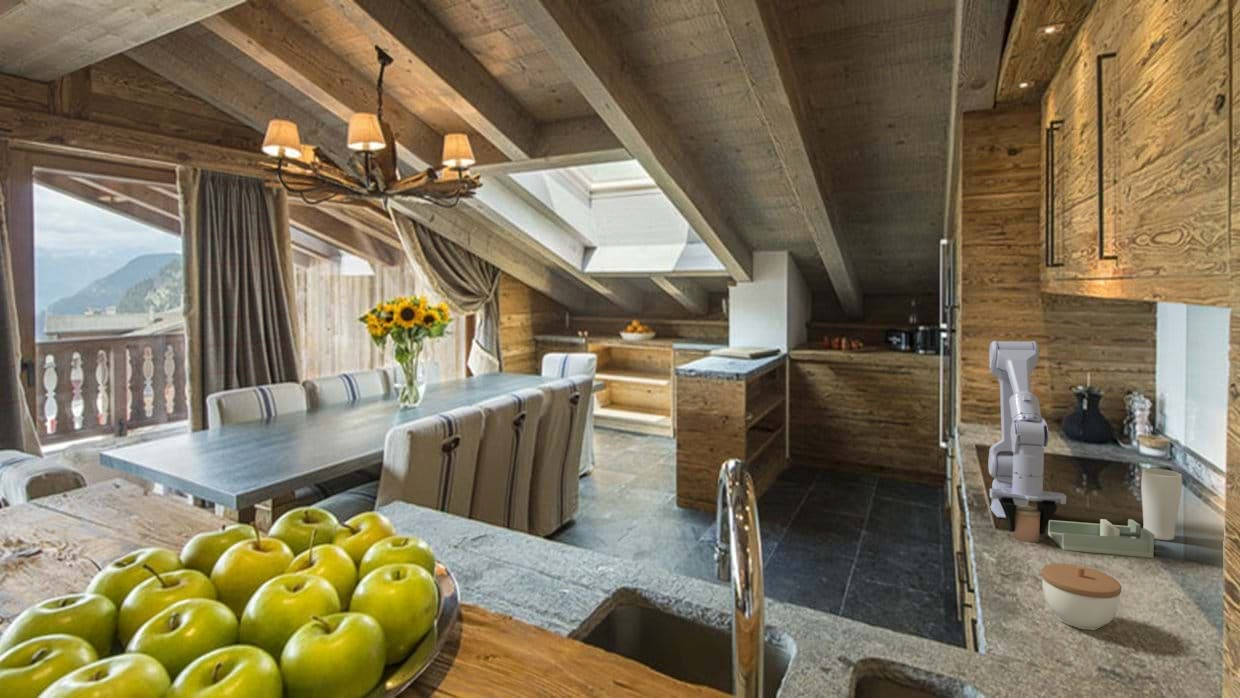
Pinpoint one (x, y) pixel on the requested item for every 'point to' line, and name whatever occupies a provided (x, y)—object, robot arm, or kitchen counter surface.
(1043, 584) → the lidded jar
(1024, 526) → the jar
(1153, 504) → the drinking glass
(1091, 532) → the pale green shallow tray
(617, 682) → the kitchen counter surface
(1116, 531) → the pusher
